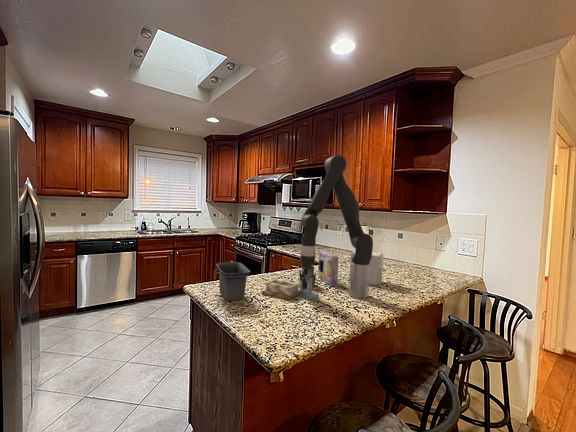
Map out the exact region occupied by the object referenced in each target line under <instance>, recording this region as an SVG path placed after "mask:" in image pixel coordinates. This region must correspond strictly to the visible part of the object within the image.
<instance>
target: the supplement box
mask: <svg viewBox="0 0 576 432" xmlns="http://www.w3.org/2000/svg"><path fill="white" fill-rule="evenodd" d="M354 256H355V250H354V251H351V252H350V265H349V281H350V280H351V265H352V257H354ZM383 262H384V253H383V252H375V251H372V258H371V260H370V266H369V278H370V281H369V285H372V286H377V285H379V284H380V283H382V281H383V266H384V265H383V264H384V263H383Z"/></svg>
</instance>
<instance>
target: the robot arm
mask: <svg viewBox="0 0 576 432" xmlns="http://www.w3.org/2000/svg"><path fill="white" fill-rule="evenodd" d="M346 168H347V160H346V158H345V156H343V155H340V154H339V155H338V154H336V155H333V156H330V157H328V158H327V159H326V160H325V162H324V169H325V173H326V175H325V177H324V179H323V181H322V182H321V183H320V185H319V187H318V188H317V189H316V191H315V193H314V195H313V197H312V199H311V201H310V204H309V206H308V207H307V208H306V210H305V212H304V213H303V214H302V217H301V219H300V220H301V221H300V224H301V226H303V228H304V231H303V234H302V236H301V246H300V256H299V257H300V258H299V261H300V264H301V265H302V267H301V270H299V271H298V275H299V274H300V281H302V289H307V278H308V277H313V273H315V266H314V265H315V264H316V251H317V249H316V241H317V234H318V231H319V219H318V216H319V214H321V213H322V211H323V210H324V208H325V206H326V204H327V202H328V199H329V198H330V195H331V193H332V191H333V192H334V195H335V198H336V200H337V203H338V206H339V209H340V212H341V214H342V217H343V220H344V223H345V225H346V228H347V233H348V235H349V240H350V243H351V245H352V247H353V248H354V249H355V250H354V251H355V256H354V257H352V265H351V280H349V281H350V282H349V285H350V286H349V296H350V297H353V298H357V299H367V298H368V297H369V296H370V295H369V294H370V293H369V292H370V284H369V281H370V278H369V266H370V260H371V258H372V252H373V250H374V249H373V247H374V240H373V238H372V236H371V235H370V234H368V233H365V232H364V230H363V228H362V225H361V223H360V208H359V203H358V201H357V199H356V198H357V197H356V195H355V193H354V192H353V190H352V189H351V188H350V185H348V183H347V181H346V180H345V177H344V172H345V170H346ZM312 265H313V266H312ZM305 277H306V278H305Z"/></svg>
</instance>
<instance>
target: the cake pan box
mask: <svg viewBox="0 0 576 432" xmlns="http://www.w3.org/2000/svg"><path fill="white" fill-rule="evenodd" d="M317 266H318V279H319V280H320V281H323V282H324V283H326V284H327V285H329V286H330V287H338V283H339V282H338V281H339V279H338V278H339V255H336V254H334V253H332V252H328V251H326V250H321V251H318V265H317Z"/></svg>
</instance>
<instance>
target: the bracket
mask: <svg viewBox="0 0 576 432" xmlns="http://www.w3.org/2000/svg"><path fill="white" fill-rule="evenodd" d="M305 278H306V277H305ZM312 279H313V278H312V277H308V278H307V289H302V281H300V285H299V290H300V295H299V298H302V299H303V298H304V299H308V300H313V301H317V300H318V299H319V298H320V294H319V293H318V294H317V293H314V292H313V286H312Z"/></svg>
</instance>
